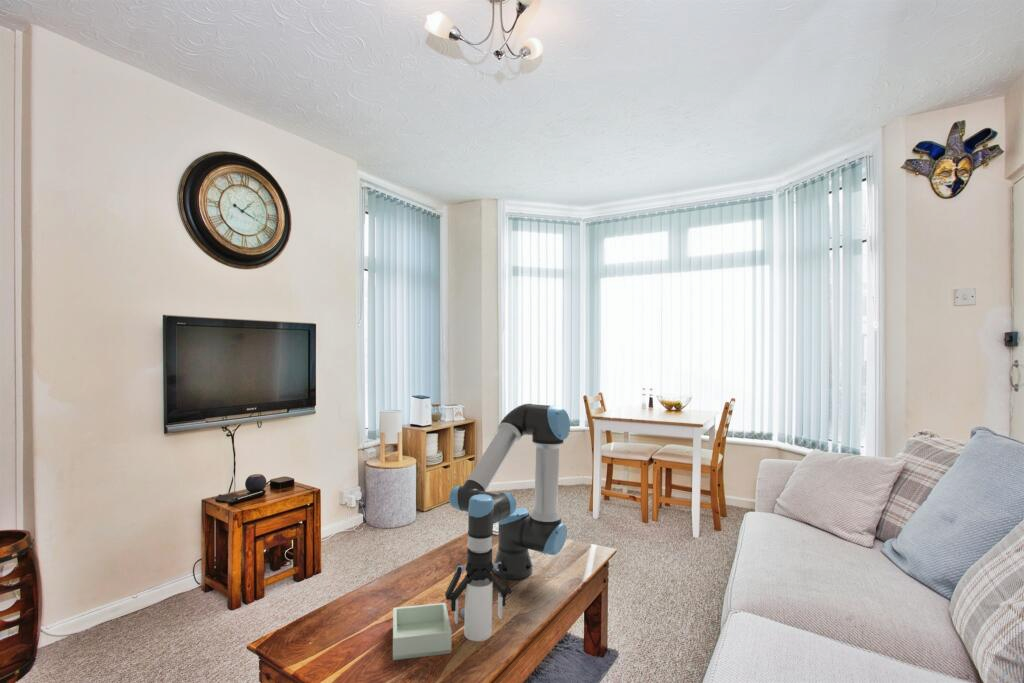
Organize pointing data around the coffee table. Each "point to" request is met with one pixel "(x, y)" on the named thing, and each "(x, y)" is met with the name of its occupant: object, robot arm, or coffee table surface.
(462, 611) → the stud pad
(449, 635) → the bin
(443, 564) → the coffee table surface
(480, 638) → the cup
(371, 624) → the coffee table surface
